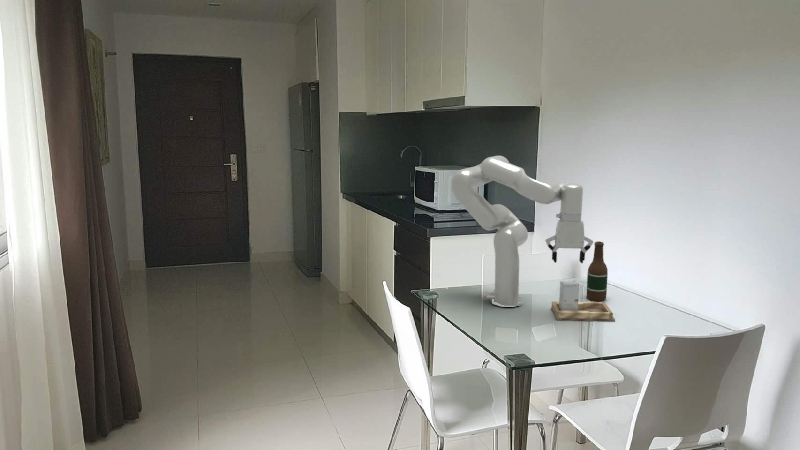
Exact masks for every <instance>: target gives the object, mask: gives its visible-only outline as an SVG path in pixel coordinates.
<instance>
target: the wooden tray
mask: <svg viewBox="0 0 800 450" xmlns="http://www.w3.org/2000/svg"><path fill="white" fill-rule="evenodd" d="M550 308H551V309H550V310H551V311H552V313H553V315H554V318H555V320H556V322H557V321H561V322H563V321H565V322H567V321H569V322H570V321H571V322H572V321H573V322H616V318H614V313H613V312H612V310H611V309H610V307H609V306H608V304H607V303H606V302H605V301H602V302H595V301H578V311H566V310H559V301H551V307H550Z"/></svg>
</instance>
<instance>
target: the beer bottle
mask: <svg viewBox="0 0 800 450" xmlns="http://www.w3.org/2000/svg"><path fill="white" fill-rule="evenodd" d="M604 245H605V243H604V241H598V240H597V241H595V242H594V250H593V257H592V261H591V263H590V264H589V265H588V268H587V278H586V281H587V282H586V299H587V300H589V302H605V301H606V299H607V290H608V289H607V288H608V275H609V274H608V272H609V271H608V266H607V264H606V262H605V260H604Z"/></svg>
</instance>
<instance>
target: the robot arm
mask: <svg viewBox="0 0 800 450" xmlns="http://www.w3.org/2000/svg"><path fill="white" fill-rule="evenodd" d="M492 181H494V182H497V183H499V184H500V185H504V186H506V187H509V188H511V189H513V190H514V191H515V192H516V193H518V194H519V195H521V196H522V197H524V198H526V199H528V200H531V201H533V202H536V203H538V204H541V205H549V204H552V203H555V202H558V201H559V202H560V209H559V213H556V215H555V217H556V219H557V218H558V221H557V223H556V229H555V235H553V236H550V237H549V238H546V239H545V242H546V245H547V247H548V248H549V250H551V251H552V252H551V253H552V254H551V259H552V261H553V262H554V263H557V261H558V252H557V251H558V249H580V251H579V260H578V261H579V262H580V264H583V263H584V261H585V258H586V253H587V252H588V251H589V249H590V250H591V247H592V246H593V243H594V241H593V239H591V238H589V237H587V236H585V225H584V221H583V220H582V213H583V212H582V211H583V208H582V207H583V196H584V195H583V193H584V188H583V185H582V184H579V183H566V182H560V181H555V180H554V181H550V182H546V183H544V182H541V181H538V180H536V179H534V178H532V177H530V176H528V175H527V174H526V172H525V169H524V168H523V167H520V166H517V165H514V164H513V163H510V162H509V160H508V159H507V158H506V157H505V156H502V155H494V156H489V157H486V158H485V159H484V160H483V161H482V162H481V163H479V164H476V165H475V166H470V167H467V168H462V169H460V170H458V171H457V172H455V173H454V175H453V177H452V179H451V185H450V186H451V192H452V195H453V196H454V198H455V200H456V201H457V202H458V203H459V204H460V205H461V206H462V207H463V208H464V209H465V210H466V211H467V212H468V213H469V214H470V216H471V217H472V218H473V219H474V220H475V221H476V222H477V223H478V224H479V225H480V226H481V228H482V229H483V230H485V231H494V230H496V229H497V231H496V232H495V234H494V236H493V247H494V290H493V291H491V292H482V296H483V298H486V300H491V299H494V302H497V303H499V304H501V305H504V306H519V307H521V306H522V305H523V300H522V298H519V293H520V287H519V286H520V280H519V279H520V254H519V247H520V246H522V245H523V244H525V243H526V242H527V240H528V237H529V232H528V229H527V227H526V226H525V225H524V224H523V222H521V220H520V219H519V218H518V217H517V216H516V215H515V214H514V213H513V212H512V211H511V210H510V209H509V208H508V207H506V206H505V205H503V204H501V203H498V204H497V203H496V204H491V203H490V202H488V200H486V198H485V197H484V196H483V195H482V194H480V193H479V192H477V191H476V190H475V188H478V187H481V186H483V185H486V184H489V183H490V182H492ZM553 241H554V245H552V244H551V242H553ZM585 242H587V244H586V245H585ZM521 304H522V305H521ZM520 305H521V306H520Z"/></svg>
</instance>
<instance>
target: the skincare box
mask: <svg viewBox="0 0 800 450" xmlns="http://www.w3.org/2000/svg"><path fill="white" fill-rule="evenodd" d="M579 294H580V283H579V282H578V281H576V280H560V281H559V299H558V300H559V301H558V302H559V310H566V311H578V302H579V297H580V296H579Z"/></svg>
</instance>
